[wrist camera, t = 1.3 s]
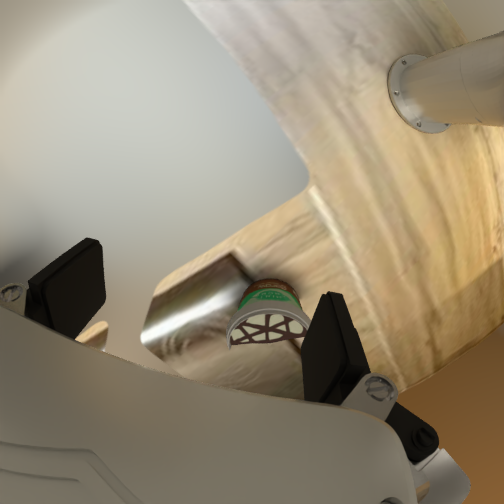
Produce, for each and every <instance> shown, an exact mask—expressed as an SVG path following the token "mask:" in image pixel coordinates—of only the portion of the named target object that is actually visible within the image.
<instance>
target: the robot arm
mask: <svg viewBox="0 0 504 504" xmlns="http://www.w3.org/2000/svg"><path fill="white" fill-rule="evenodd" d="M402 63H403V64H402ZM388 89H389V94H390V97H391V100H392V103H393V105H394V107H395V109H396V111H397V112H398V113H399V115H400V116H401V118H402V119H403V120H404V121H405V122H406V123H407V124H409V125H410V126H411V127H413V128H414V129H416V130H418V131H421V132H424V133H431V134H433V133H440V132H443V131H445V130H446V129H448V128H449V127H450V126H451V124H471V125H486V126H497V127H504V31H502V32H499V33H497V34H494V35H491V36H488V37H485V38H482V39H479V40H476V41H473V42H470V43H467V44H464V45H461V46H458V47H455V48H452V49H449V50H447V51H444V52H441V53H439V54H436V55H433V56H431V57H426V56H423V55H418V54H409V55H406V56H403V57H401V58H399V59H398V60H397V61H396V62H395V63H394V64H393V66H392V67H391V69H390V72H389V77H388ZM394 92H395V94H394ZM28 284H29V289H28V290H26V287H25V286H24V285H22V284H20V283H12V284H8V285H6V286H4V287H3V288H1V289H0V504H461V503H462V502H463V501H464V499H465V498H466V497H467V495H468V493H469V491H470V486H471V485H470V480H469V478H468V477H467V476H466V474H465V473H464V472H463V471H462V469H461V468H460V467H459V466H458V465H457V464H456V462H455V461H454V460H453V459H452V458H451V457H450V455H449V454H448V453H447V452H446V451H445V450H444V449H441V450H439V448H438V445H439V438H438V435H437V433H436V431H435V430H434V428H432V427H431V426H430V425H429V424H427V423H426V422H424V421H423V420H421V419H420V418H419V417H417V416H416V415H414V414H413V413H411V412H410V411H409V410H407V409H406V408H404V407H403V406H401V405H400V404H399V403H397V402H396V400H397V397H398V390H397V388H396V385H395V384H394V383H393V382H392V380H390V379H389V378H388V377H386V376H384V375H382V374H378V373H371V372H370V368H369V365H368V362H367V359H366V356H365V353H364V350H363V347H362V344H361V341H360V338H359V335H358V332H357V330H356V329H355V328H354V325H353V323H352V320H351V317H350V314H349V311H348V308H347V306H346V303H345V300H344V298H343V295H342V294H340V293H335V292H330V291H328V292H327V294H322V296H321V298H320V301H319V303H318V306H317V308H316V311H315V313H314V316H313V318H312V321H311V323H310V326H309V328H308V330H307V333H306V335H305V338H304V340H303V342H302V346H301V359H302V371H303V384H304V398H305V401H303V400H295V399H288V398H281V397H274V396H268V395H262V394H256V393H250V392H245V391H239V390H234V389H229V388H225V387H220V386H215V385H211V384H207V383H202V382H198V381H194V380H190V379H187V378H182V377H179V376H175V375H172V374H168V373H165V372H162V371H158V370H155V369H152V368H149V367H145V366H142V365H139V364H136V363H133V362H130V361H127V360H124V359H122V358H119V357H116V356H114V355H110V354H108V353H106V352H103V351H100V350H98V349H95V348H93V347H90V346H88V345H86V344H83V343H81V342H78V341H76V340H75V338H76V337H77V336H78V335H79V333H80V332H81V331H82V329H83V328H84V327H85V326H86V325H87V323H88V322H89V321H90V320H91V319H92V317H93V316H94V315H95V314H96V313H97V311H98V310H99V309H100V308H101V307H102V306H103V304H104V303H105V300H106V291H105V280H104V268H103V250H102V245H101V244H100V243H99V241H98V240H95V239H91V238H85V239H84V240H82V241H81V242H79V243H78V244H76V245H75V246H73V247H72V248H71V249H69V250H68V251H67V252H65V253H64V254H62V255H61V256H59V257H58V258H57V259H56V260H54V261H53V262H51V263H50V264H49V265H48V266H46V267H45V268H44V269H42V270H41V271H40V272H38V273H37V274H36V275H35V276H33V277H32V278H31V279H30V280H28Z"/></svg>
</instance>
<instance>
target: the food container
mask: <svg viewBox="0 0 504 504" xmlns="http://www.w3.org/2000/svg"><path fill="white" fill-rule="evenodd" d="M310 323H311V320H310V319H309V317H308V316H307V315H306V314H305V313H304V312H303V310H302V307H301V304H300V301H299V298H298V296H297V294H296V292H295V291H294V289H293V288H292V287H291V286H290V285H288V284H287V283H286V282H283V281H281V280H278V279H262V280H259V281H256V282H255V283H253V284H252V285H250V286H249V287H248V288H247V289H246V291H245V292H244V294H243V297H242V300H241V303H240V305H239V308H238V311H237V312H236V313H235V314H234V315H233V316H232V318H231V319H230V321H229V323H228V325H227V330H226V338H227V345H228V347H229V350H230V348H231V345H238V344H248V343H273V342H278V341H282V340H287V339H293V338H300V337H305V335H306V333H307V330H308V328H309V326H310Z"/></svg>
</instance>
